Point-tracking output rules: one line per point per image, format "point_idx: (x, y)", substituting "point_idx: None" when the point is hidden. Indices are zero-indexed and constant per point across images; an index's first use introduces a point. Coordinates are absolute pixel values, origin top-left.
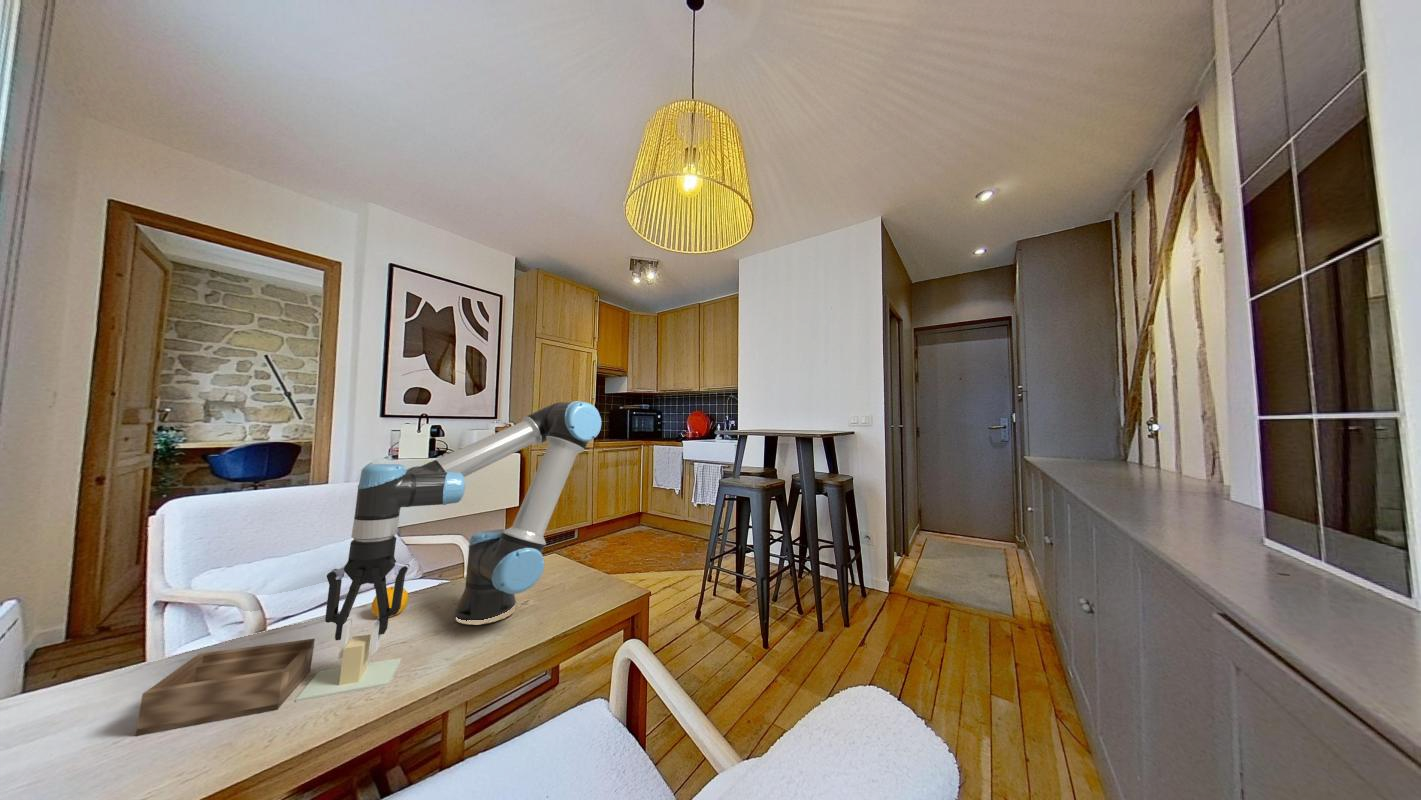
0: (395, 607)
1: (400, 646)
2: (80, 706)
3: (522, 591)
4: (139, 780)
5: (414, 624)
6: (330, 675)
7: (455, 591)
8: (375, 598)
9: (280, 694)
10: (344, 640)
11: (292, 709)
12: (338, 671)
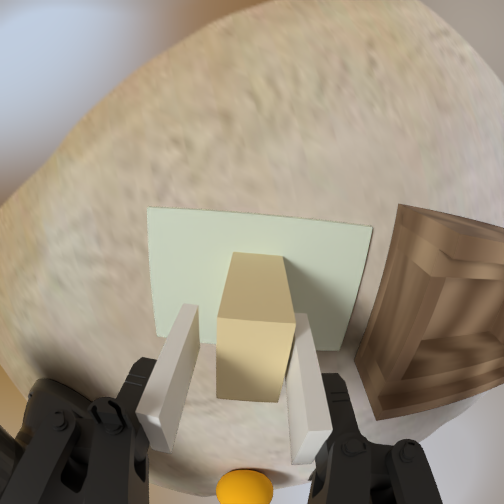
0: (45, 441)
1: None
2: None
3: None
4: (496, 87)
5: (189, 444)
6: (313, 320)
7: (165, 483)
8: (268, 500)
9: (416, 216)
10: (303, 362)
11: (369, 186)
12: None
